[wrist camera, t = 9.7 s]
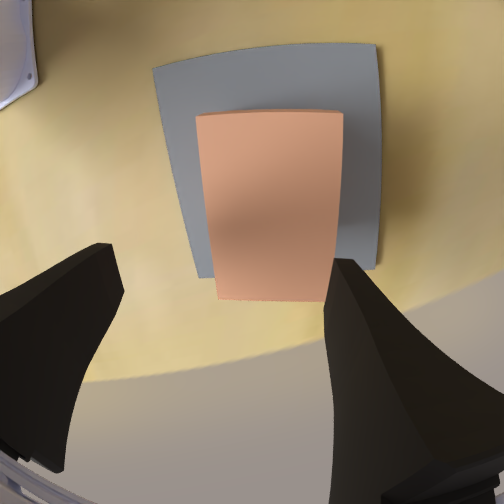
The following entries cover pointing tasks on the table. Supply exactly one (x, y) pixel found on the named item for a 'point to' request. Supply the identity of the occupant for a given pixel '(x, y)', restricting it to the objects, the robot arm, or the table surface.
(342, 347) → the robot arm
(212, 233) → the terracotta stool
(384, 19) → the table surface
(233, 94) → the slate mat
